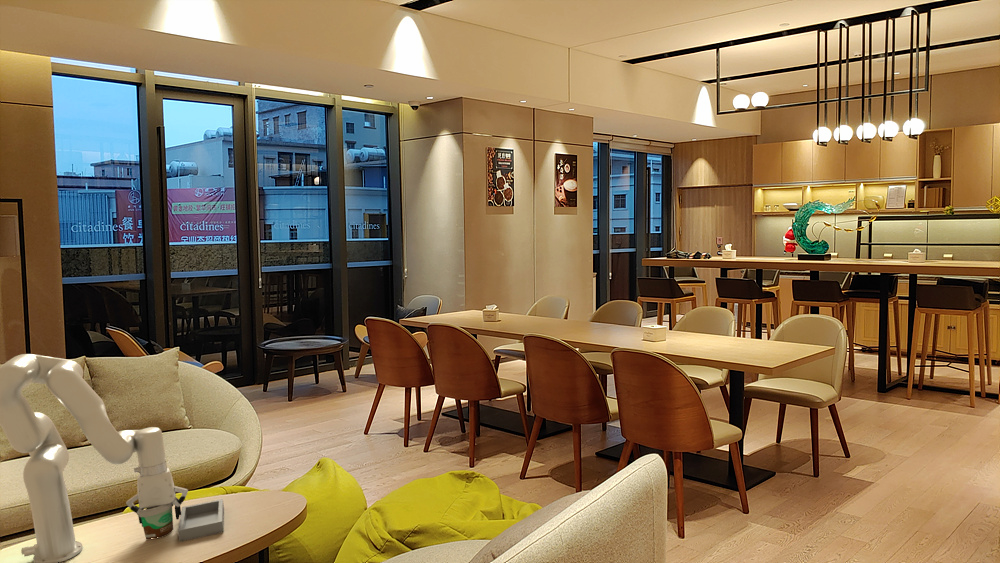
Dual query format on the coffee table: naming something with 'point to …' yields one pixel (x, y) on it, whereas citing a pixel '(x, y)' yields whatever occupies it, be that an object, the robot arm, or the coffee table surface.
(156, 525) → the food container
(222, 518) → the tray
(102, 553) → the coffee table surface
